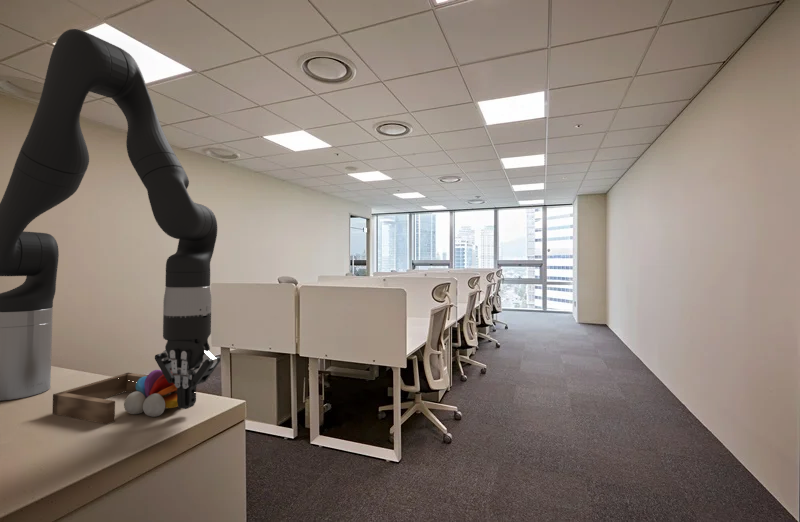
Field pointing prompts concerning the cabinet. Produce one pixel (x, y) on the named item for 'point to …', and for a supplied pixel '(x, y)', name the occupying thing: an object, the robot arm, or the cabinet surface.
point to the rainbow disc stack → (152, 395)
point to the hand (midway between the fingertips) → (186, 407)
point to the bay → (94, 398)
